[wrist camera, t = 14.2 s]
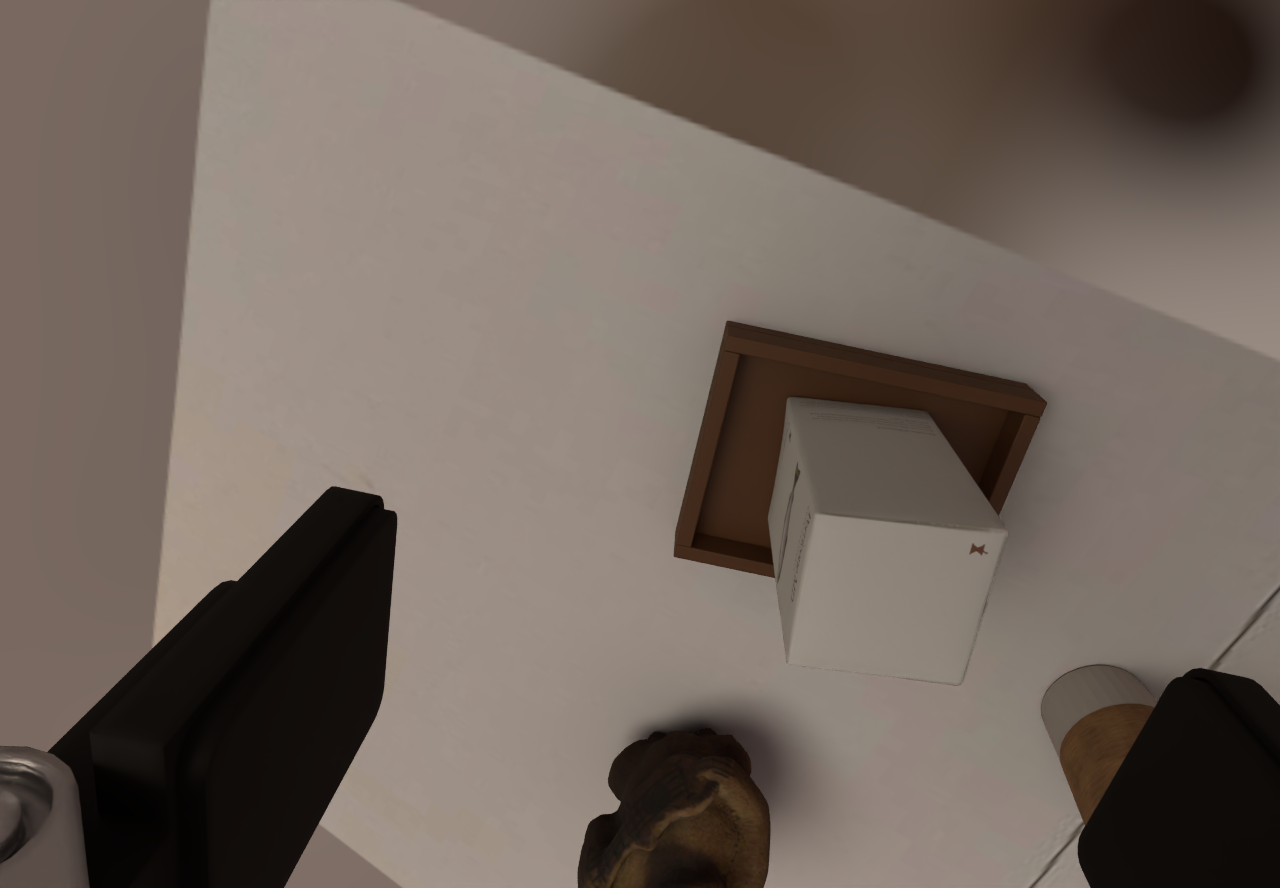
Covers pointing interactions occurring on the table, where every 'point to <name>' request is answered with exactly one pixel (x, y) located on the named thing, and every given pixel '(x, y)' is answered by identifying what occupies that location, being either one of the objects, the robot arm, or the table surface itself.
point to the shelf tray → (809, 368)
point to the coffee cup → (1094, 727)
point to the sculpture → (680, 818)
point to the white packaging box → (879, 543)
